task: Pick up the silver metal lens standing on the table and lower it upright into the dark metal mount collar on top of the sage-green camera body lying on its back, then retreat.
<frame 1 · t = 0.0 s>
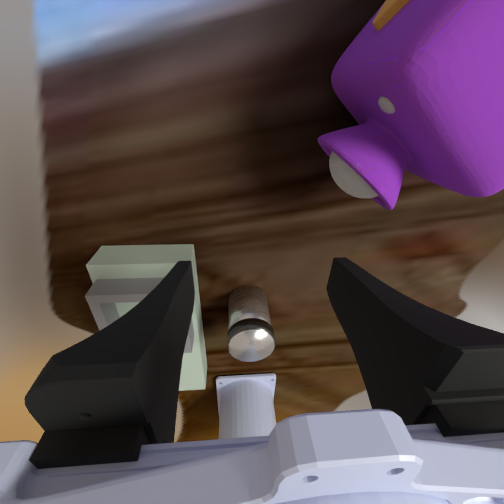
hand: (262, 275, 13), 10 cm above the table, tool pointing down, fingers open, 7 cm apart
lens: (247, 299, 28), on the table
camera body: (164, 316, 28), on the table
toy camera: (391, 93, 18), on the table
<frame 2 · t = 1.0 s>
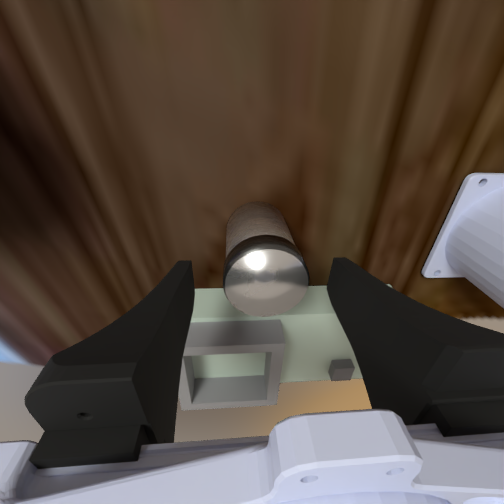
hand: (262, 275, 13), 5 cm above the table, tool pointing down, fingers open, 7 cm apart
lens: (256, 229, 17), on the table
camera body: (275, 322, 22), on the table
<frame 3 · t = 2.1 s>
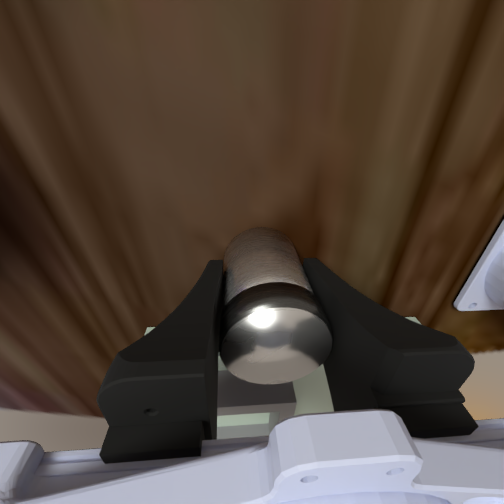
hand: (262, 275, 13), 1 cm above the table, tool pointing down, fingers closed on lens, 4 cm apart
lens: (260, 259, 14), on the table, touching gripper
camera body: (281, 359, 19), on the table
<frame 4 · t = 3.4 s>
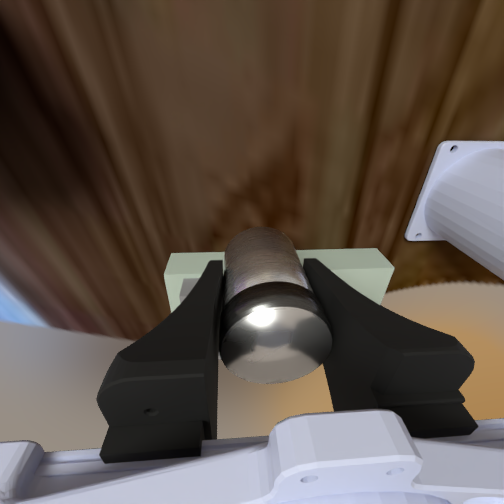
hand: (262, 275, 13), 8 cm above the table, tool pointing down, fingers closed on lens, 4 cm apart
lens: (260, 259, 14), point 7 cm above the table, touching gripper
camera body: (273, 286, 25), on the table
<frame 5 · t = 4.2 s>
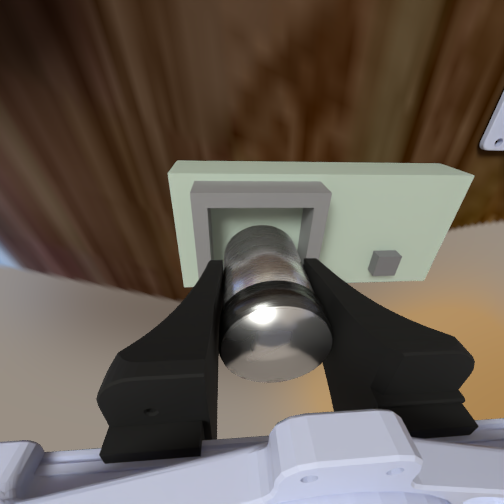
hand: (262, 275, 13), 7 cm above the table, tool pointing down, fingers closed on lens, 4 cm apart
lens: (260, 257, 14), point 6 cm above the table, touching gripper
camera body: (305, 216, 19), on the table
when the fingers open (6 cm above the table, at t = 4.8 s): lens drops 1 cm, resting on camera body.
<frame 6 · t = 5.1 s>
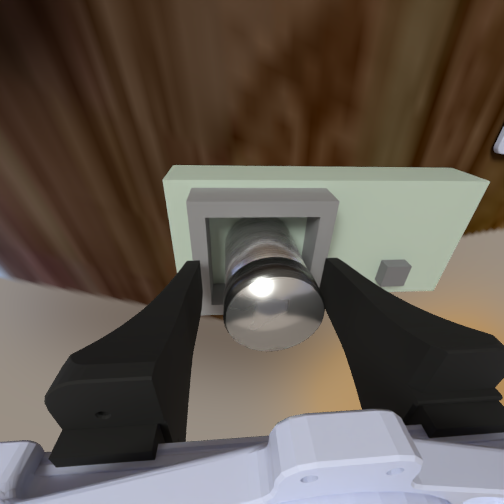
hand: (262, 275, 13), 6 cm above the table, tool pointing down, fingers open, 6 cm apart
lens: (258, 244, 16), point 3 cm above the table, touching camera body
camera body: (309, 223, 18), on the table
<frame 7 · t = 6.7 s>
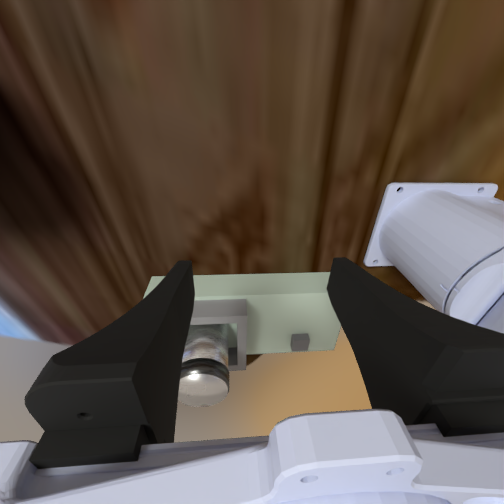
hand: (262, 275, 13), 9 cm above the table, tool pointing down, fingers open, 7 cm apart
lens: (206, 328, 24), point 3 cm above the table, touching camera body
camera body: (247, 304, 27), on the table
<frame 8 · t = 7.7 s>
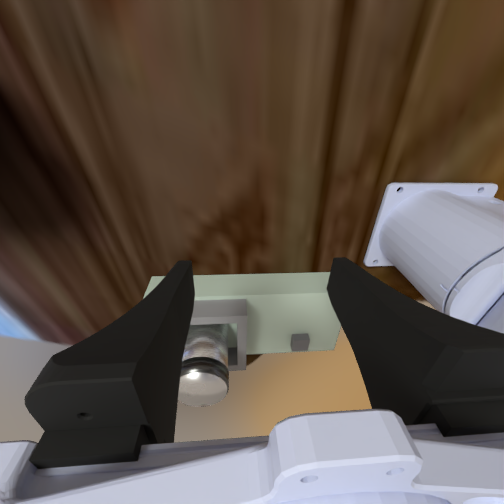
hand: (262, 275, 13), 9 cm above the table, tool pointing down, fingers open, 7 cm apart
lens: (206, 328, 24), point 3 cm above the table, touching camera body
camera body: (247, 304, 27), on the table
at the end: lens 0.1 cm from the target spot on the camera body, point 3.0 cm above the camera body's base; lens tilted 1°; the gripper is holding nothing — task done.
